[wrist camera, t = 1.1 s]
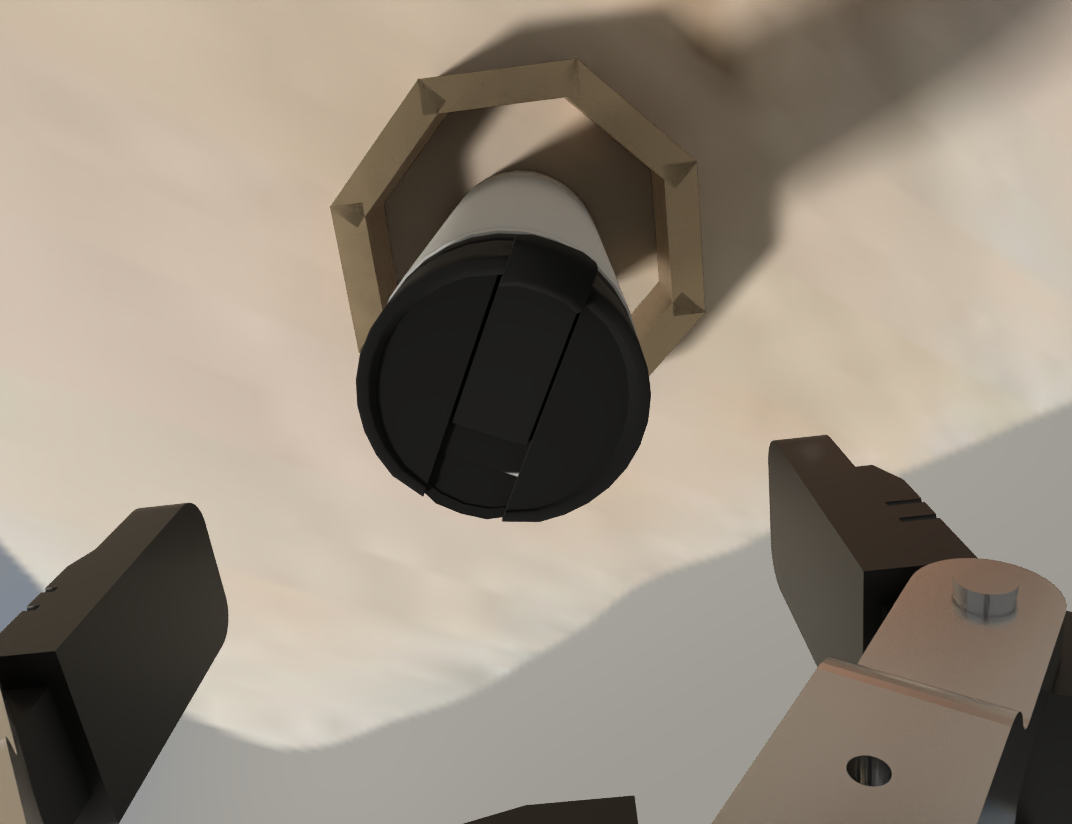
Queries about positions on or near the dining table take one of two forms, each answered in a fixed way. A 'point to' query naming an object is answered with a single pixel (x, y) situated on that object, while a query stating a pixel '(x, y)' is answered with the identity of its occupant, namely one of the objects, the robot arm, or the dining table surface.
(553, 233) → the travel mug
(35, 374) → the dining table surface
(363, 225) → the collar ring
